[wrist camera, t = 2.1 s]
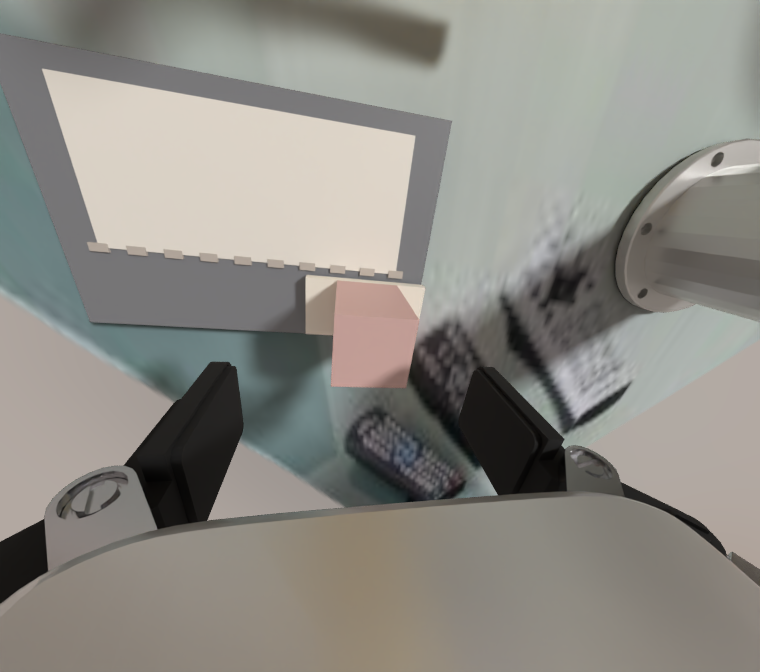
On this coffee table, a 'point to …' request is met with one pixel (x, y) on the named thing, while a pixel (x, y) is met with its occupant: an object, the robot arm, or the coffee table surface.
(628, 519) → the robot arm
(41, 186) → the board
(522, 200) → the coffee table surface
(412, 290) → the stub
